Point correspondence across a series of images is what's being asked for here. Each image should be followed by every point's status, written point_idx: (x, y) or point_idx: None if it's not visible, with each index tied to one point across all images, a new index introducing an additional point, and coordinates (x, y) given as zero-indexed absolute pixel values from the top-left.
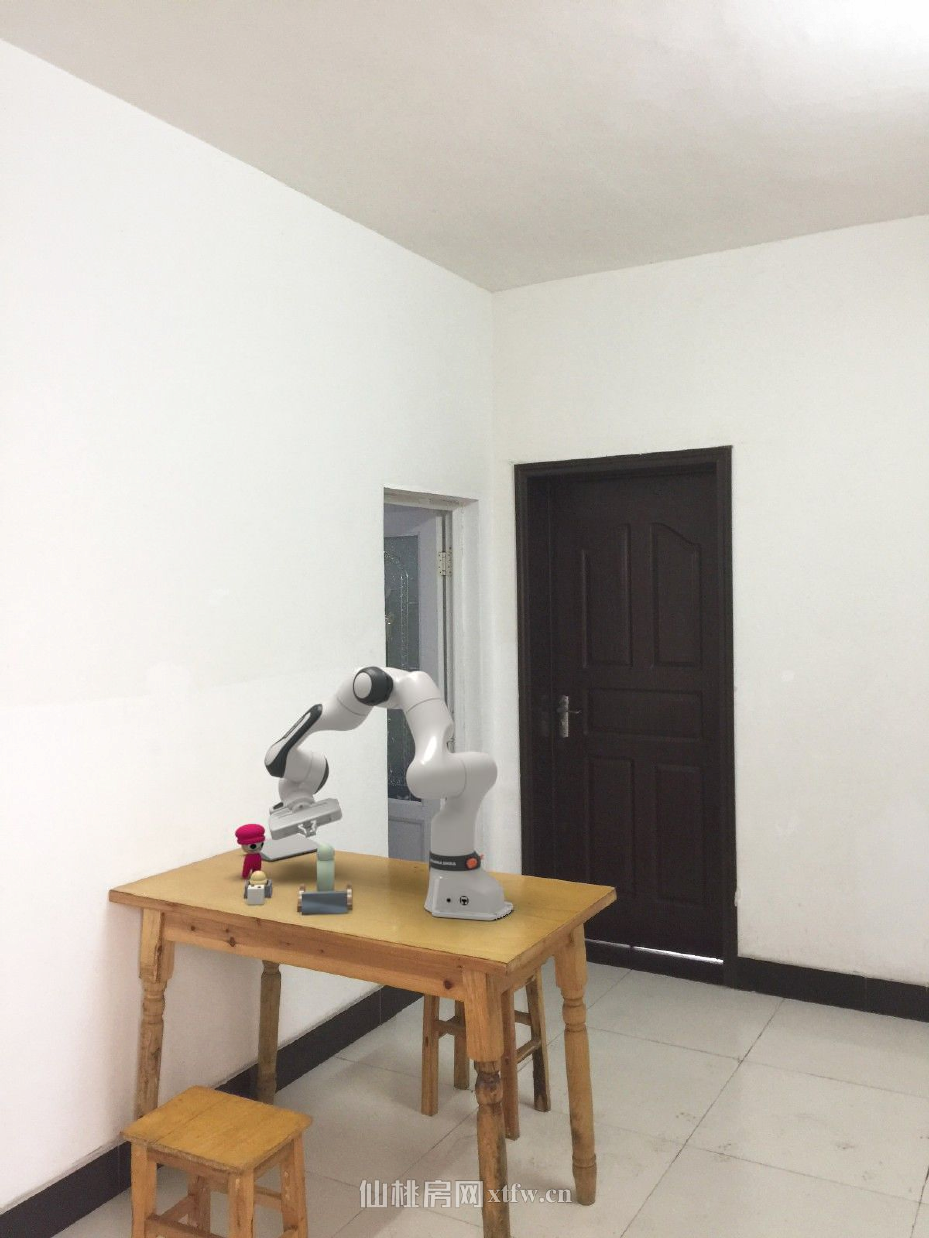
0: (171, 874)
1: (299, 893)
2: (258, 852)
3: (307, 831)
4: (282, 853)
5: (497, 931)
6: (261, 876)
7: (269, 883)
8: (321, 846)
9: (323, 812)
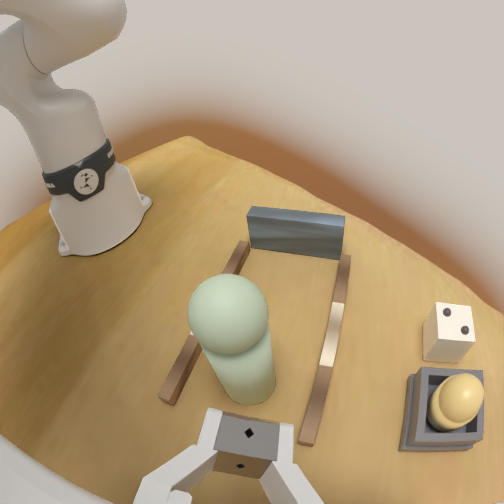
0: None
1: (336, 343)
2: None
3: (269, 427)
4: None
5: (138, 169)
6: (455, 376)
7: (423, 395)
8: (244, 286)
9: (19, 477)
